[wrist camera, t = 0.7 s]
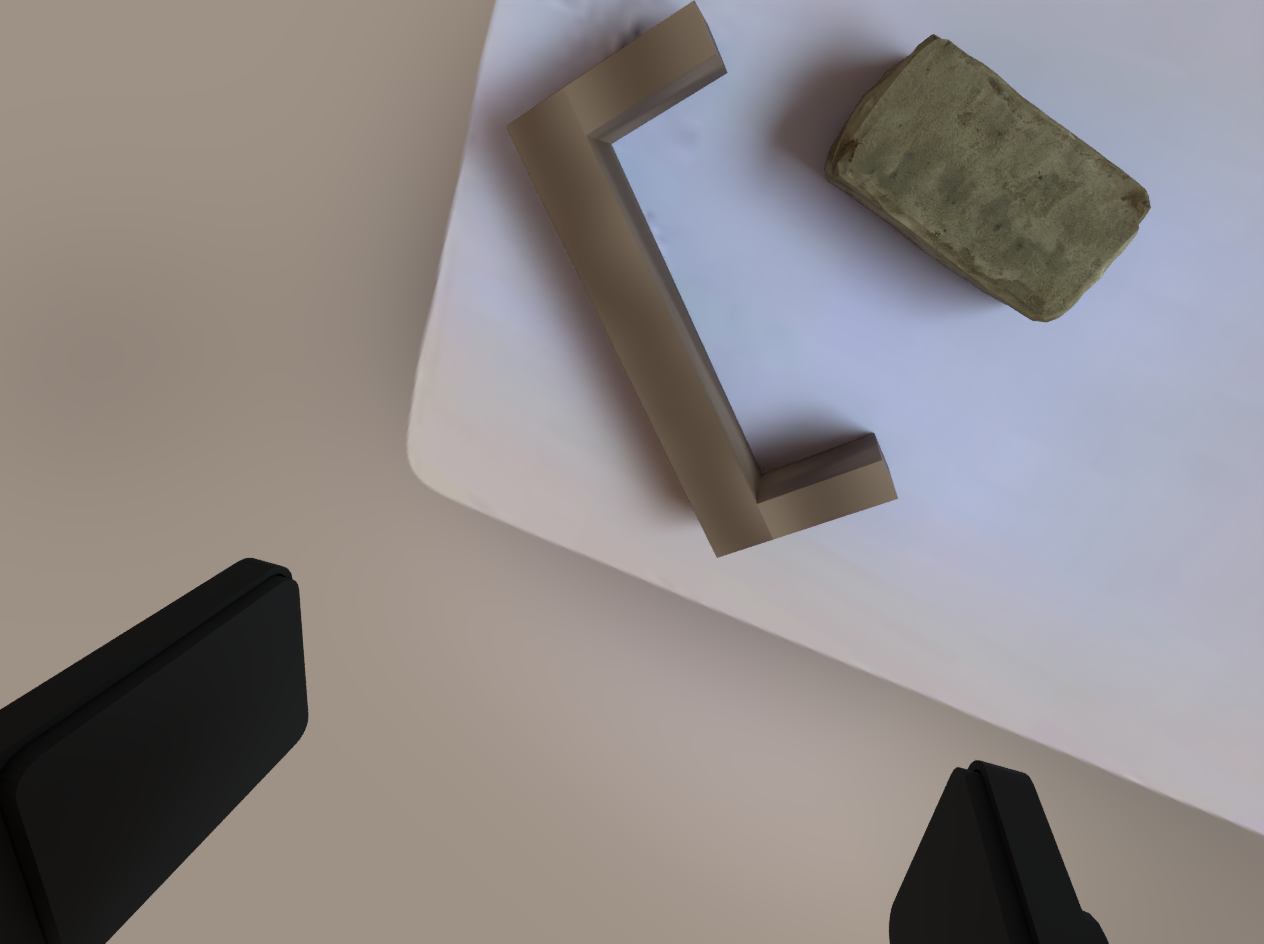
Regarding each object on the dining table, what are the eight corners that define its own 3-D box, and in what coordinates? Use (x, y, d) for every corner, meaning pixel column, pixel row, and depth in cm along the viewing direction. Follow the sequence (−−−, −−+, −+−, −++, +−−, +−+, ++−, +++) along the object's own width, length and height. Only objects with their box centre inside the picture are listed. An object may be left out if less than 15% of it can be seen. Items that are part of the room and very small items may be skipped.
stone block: (1018, 319, 30) (1054, 337, 26) (811, 173, 30) (811, 166, 26) (1125, 203, 28) (1185, 201, 23) (899, 44, 28) (916, 11, 23)
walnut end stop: (708, 26, 29) (694, 0, 25) (888, 468, 34) (897, 498, 30) (539, 135, 32) (505, 126, 29) (726, 524, 37) (716, 557, 34)
